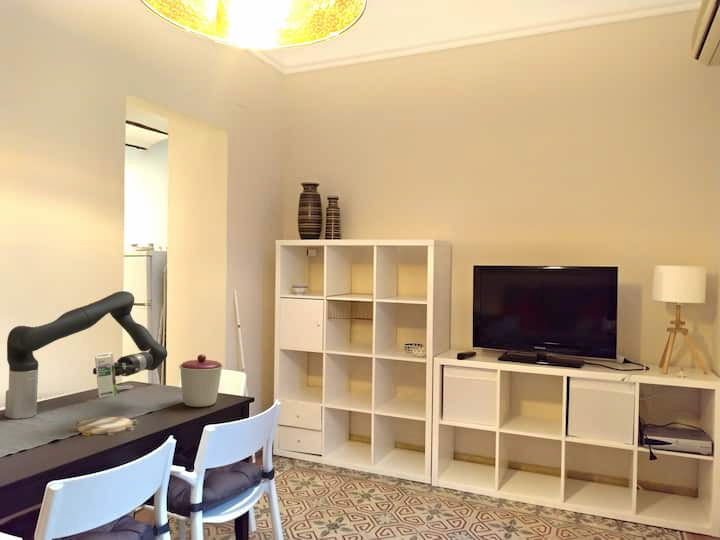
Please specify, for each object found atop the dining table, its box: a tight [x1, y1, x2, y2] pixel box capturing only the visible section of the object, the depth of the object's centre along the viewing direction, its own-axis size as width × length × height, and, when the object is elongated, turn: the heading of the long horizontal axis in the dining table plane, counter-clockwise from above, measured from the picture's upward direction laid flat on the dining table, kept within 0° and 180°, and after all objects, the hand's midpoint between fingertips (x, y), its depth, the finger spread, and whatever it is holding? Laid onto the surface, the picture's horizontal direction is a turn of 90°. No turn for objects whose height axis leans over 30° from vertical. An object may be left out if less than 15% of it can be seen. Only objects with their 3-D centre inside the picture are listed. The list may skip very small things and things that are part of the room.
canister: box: [178, 354, 224, 408], centre depth 233 cm, size 18×18×21 cm
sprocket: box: [70, 415, 139, 437], centre depth 197 cm, size 22×22×1 cm
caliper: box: [106, 384, 135, 398], centre depth 248 cm, size 20×1×6 cm, turn 170°
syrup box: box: [94, 351, 118, 399], centre depth 195 cm, size 6×6×14 cm
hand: (104, 372), depth 195 cm, fingers closed on syrup box, 8 cm apart
